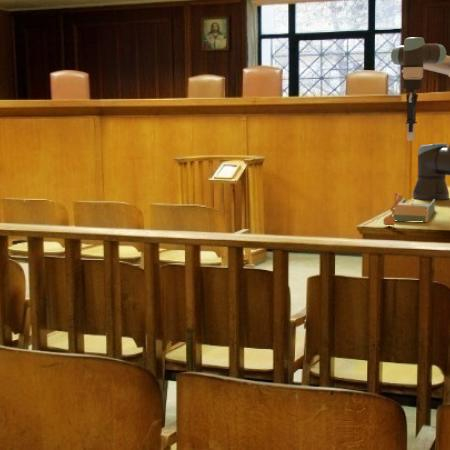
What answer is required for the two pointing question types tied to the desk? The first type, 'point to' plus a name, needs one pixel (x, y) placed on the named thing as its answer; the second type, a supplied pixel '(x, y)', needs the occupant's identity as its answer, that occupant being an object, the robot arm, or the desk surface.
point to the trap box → (414, 211)
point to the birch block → (405, 204)
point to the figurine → (390, 219)
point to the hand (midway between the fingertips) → (410, 140)
